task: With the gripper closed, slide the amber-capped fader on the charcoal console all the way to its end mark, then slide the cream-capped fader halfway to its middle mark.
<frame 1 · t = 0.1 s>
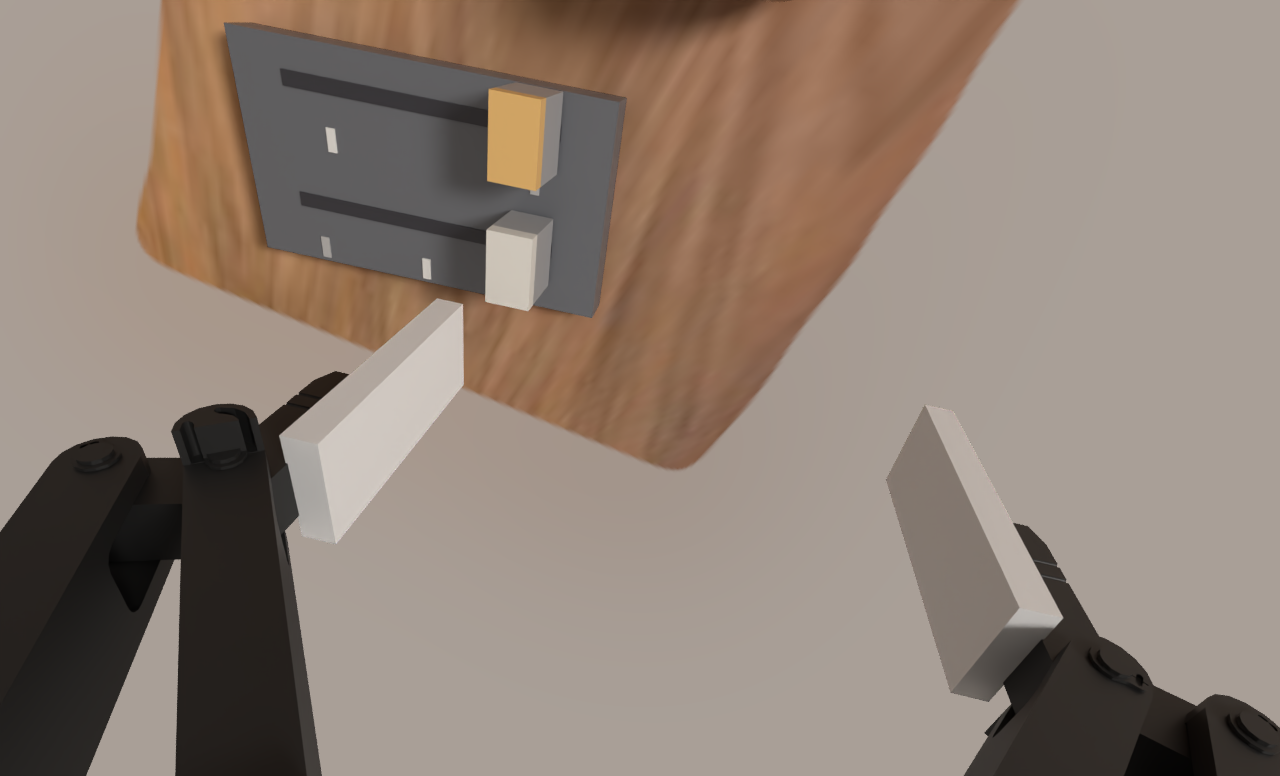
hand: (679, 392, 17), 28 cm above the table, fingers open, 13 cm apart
console: (439, 175, 43), on the table
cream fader: (519, 259, 40), point 5 cm above the table, slide at 0.0 cm
amber fader: (525, 135, 35), point 5 cm above the table, slide at 0.0 cm
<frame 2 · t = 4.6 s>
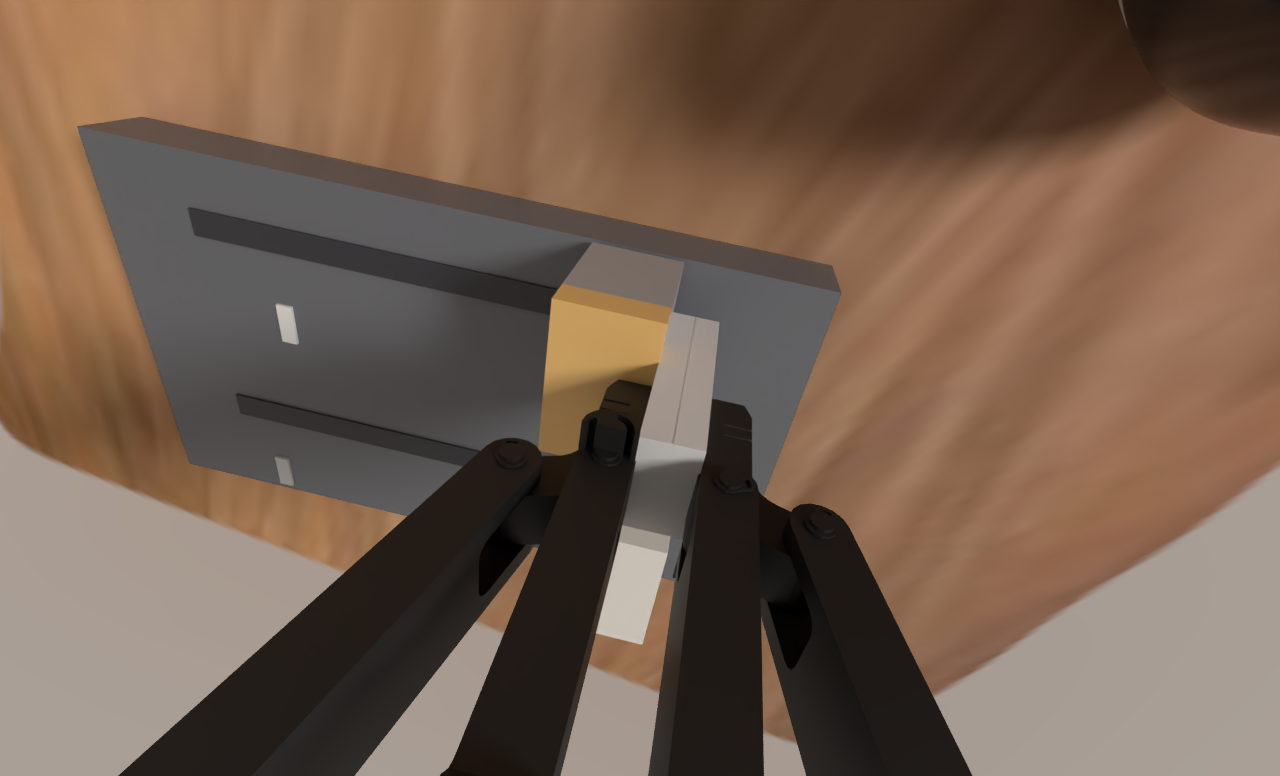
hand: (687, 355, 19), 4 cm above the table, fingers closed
console: (475, 364, 25), on the table
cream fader: (623, 542, 22), point 5 cm above the table, slide at 0.0 cm
amber fader: (613, 353, 18), point 5 cm above the table, slide at 1.6 cm, touching gripper
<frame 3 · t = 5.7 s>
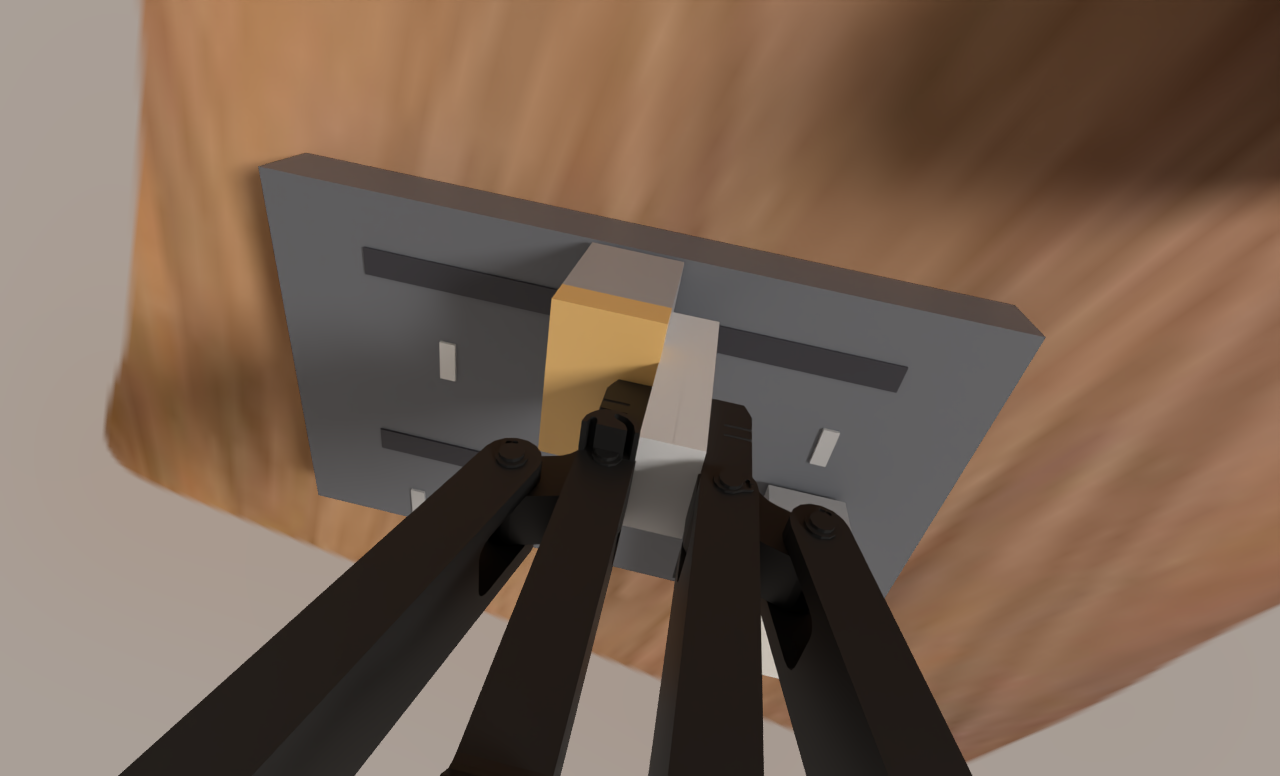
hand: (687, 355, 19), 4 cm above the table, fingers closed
console: (620, 398, 25), on the table
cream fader: (790, 583, 22), point 5 cm above the table, slide at 0.0 cm
amber fader: (613, 353, 18), point 5 cm above the table, slide at 8.0 cm, touching gripper
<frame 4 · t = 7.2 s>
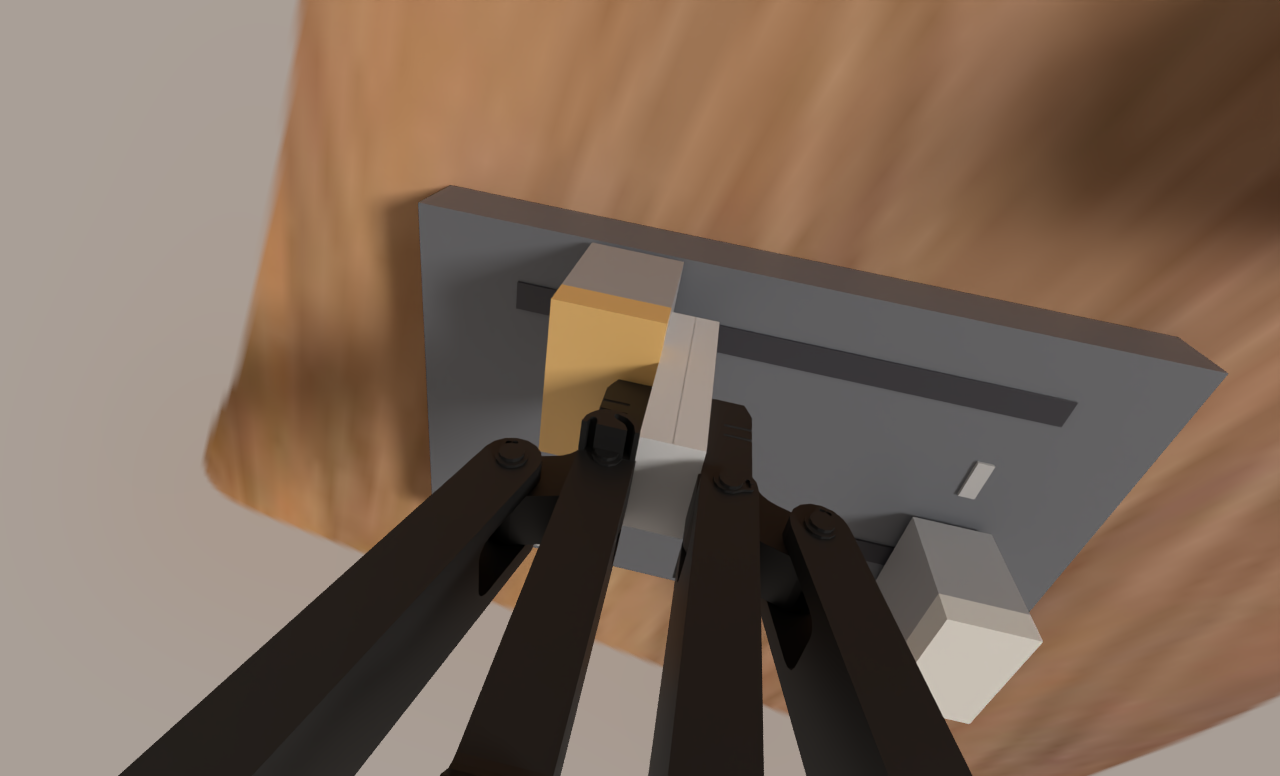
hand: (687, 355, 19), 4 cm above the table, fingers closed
console: (748, 426, 25), on the table
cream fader: (940, 617, 22), point 5 cm above the table, slide at 0.0 cm
amber fader: (613, 353, 18), point 5 cm above the table, slide at 13.6 cm, touching gripper
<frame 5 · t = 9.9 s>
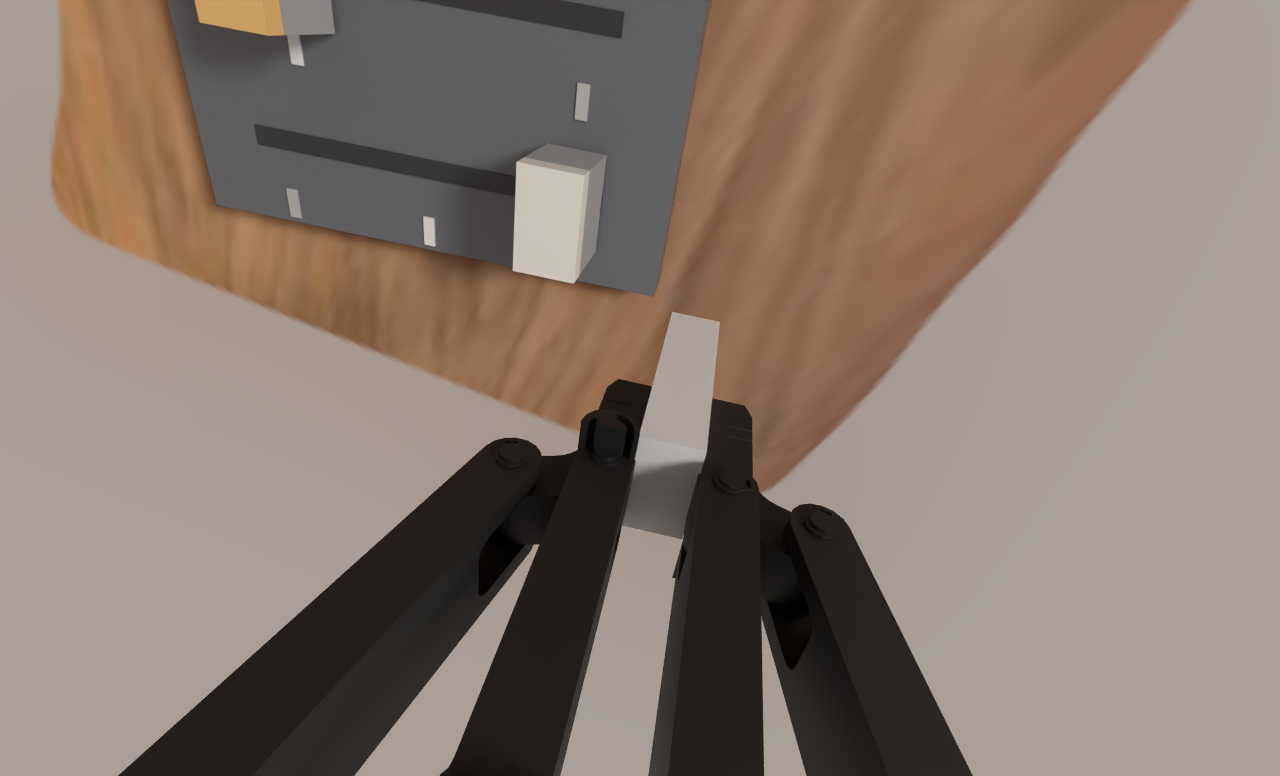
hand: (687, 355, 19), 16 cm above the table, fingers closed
console: (446, 101, 31), on the table
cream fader: (560, 211, 28), point 5 cm above the table, slide at 0.0 cm
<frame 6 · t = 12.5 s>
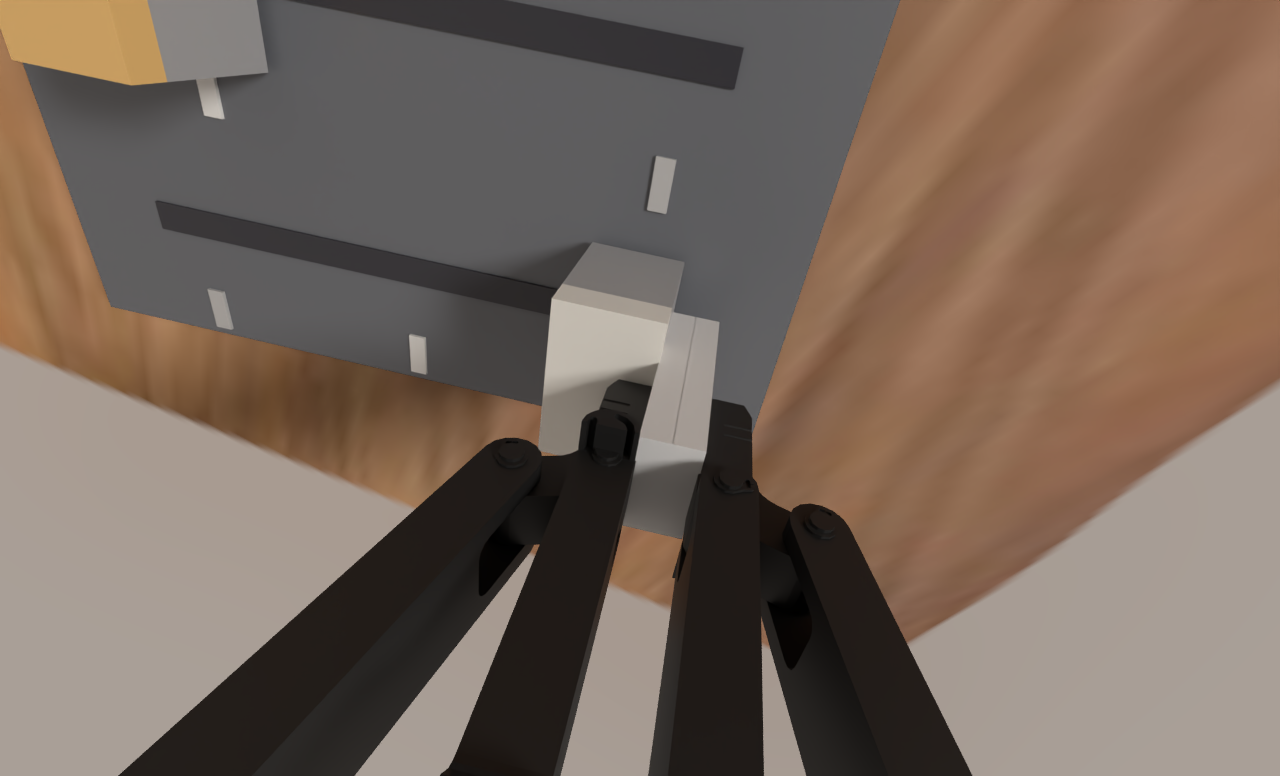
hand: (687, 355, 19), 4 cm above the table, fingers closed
console: (444, 168, 21), on the table
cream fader: (613, 353, 18), point 5 cm above the table, slide at 0.3 cm, touching gripper
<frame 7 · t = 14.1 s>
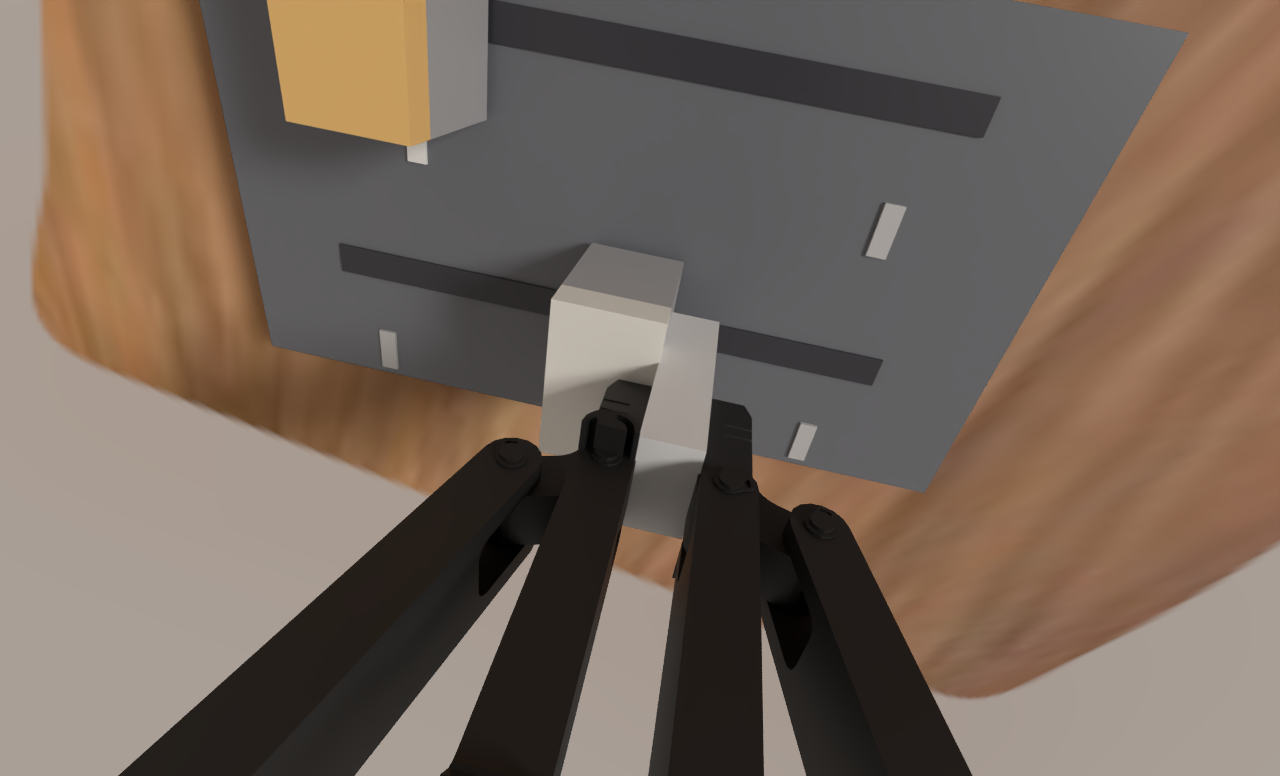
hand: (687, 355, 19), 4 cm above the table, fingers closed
console: (628, 208, 21), on the table
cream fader: (613, 353, 18), point 5 cm above the table, slide at 7.1 cm, touching gripper
amber fader: (391, 8, 14), point 5 cm above the table, slide at 13.7 cm
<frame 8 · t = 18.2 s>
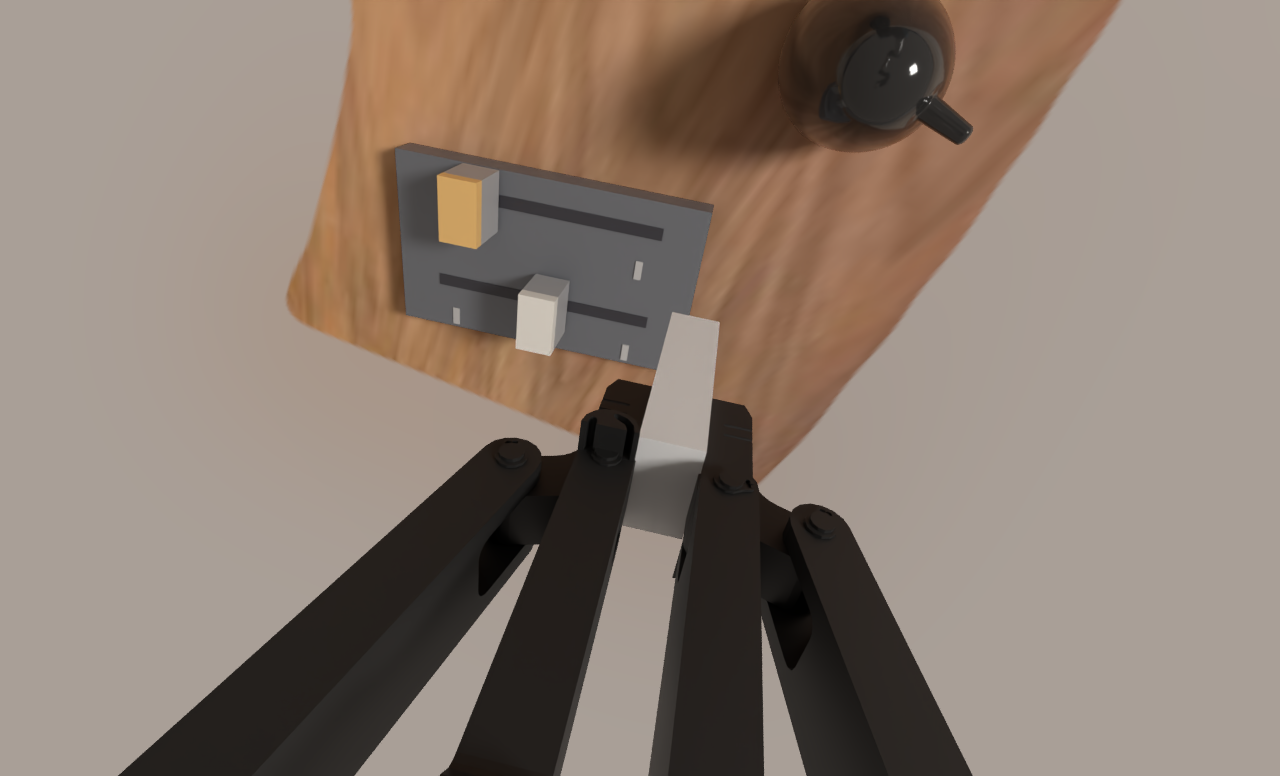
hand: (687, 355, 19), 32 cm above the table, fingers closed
console: (553, 259, 52), on the table
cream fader: (542, 314, 50), point 5 cm above the table, slide at 7.2 cm
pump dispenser: (850, 63, 41), on the table
amber fader: (469, 205, 46), point 5 cm above the table, slide at 13.7 cm
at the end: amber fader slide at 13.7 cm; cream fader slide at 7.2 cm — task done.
